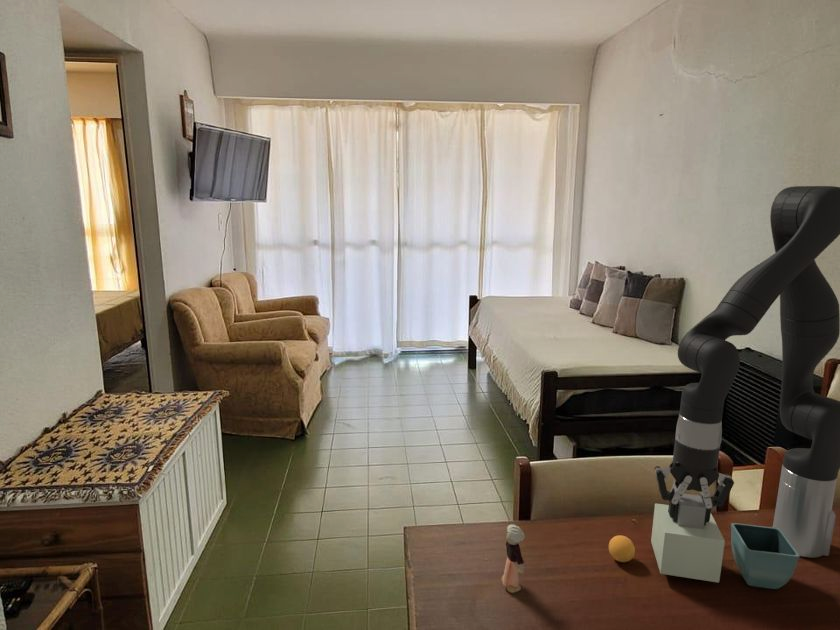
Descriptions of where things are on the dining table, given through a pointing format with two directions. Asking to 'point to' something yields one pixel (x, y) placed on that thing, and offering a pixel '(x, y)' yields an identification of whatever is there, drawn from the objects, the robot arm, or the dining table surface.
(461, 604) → the dining table surface
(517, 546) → the grandmother figurine
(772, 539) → the flower pot
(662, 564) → the pale green cube
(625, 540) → the ball
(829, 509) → the robot arm
